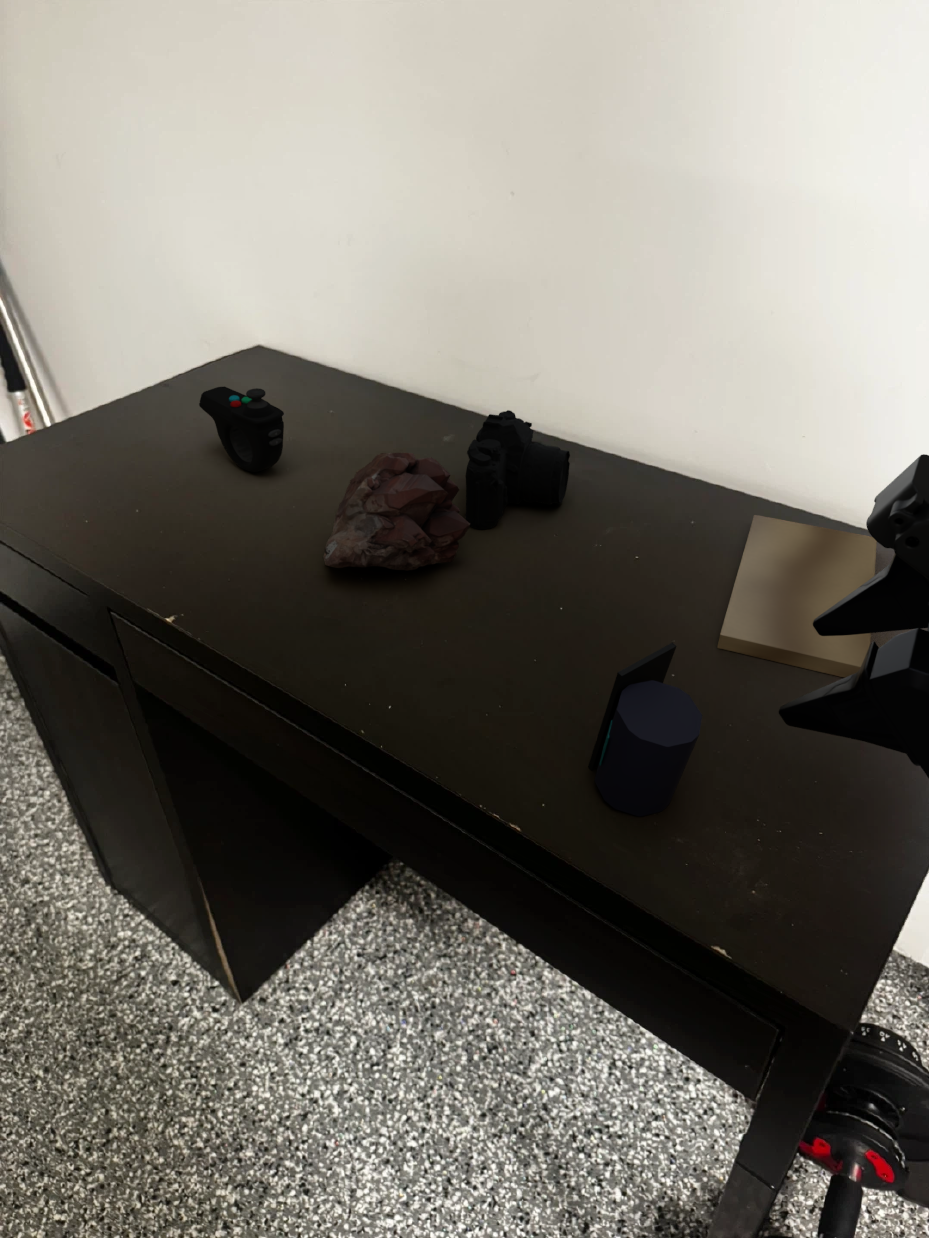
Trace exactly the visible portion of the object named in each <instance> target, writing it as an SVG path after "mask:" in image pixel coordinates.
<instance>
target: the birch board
mask: <svg viewBox="0 0 929 1238" xmlns="http://www.w3.org/2000/svg"><path fill="white" fill-rule="evenodd" d="M752 517H753V518H752V521H751V524H750V528H749V532H748V535H747V538H746V542H745V546H744V549H743V552H742V556H741V560H740V563H739V567H738V570H737V574H736V577H735V581H734V583H733V588H732V590H731V595H730V598H729V601H728V605H727V609H726V613H725V615H724V618H723V619H724V620H723V622H722V626H721V630H720V633H719V637H718V642H717V646H716V648H717V649H720V650H724V651H729V652H733V653H737V654H740V655H746V656H750V657H754V658H759V659H762V660H768V661H772V662H776V663H779V664H784V665H787V666H793V667H797V668H801V669H806V670H810V671H814V672H818V673H823V674H827V675H831V676H836V677H841V678H845V677H848V676H850V675H852V674H855V673H857V672H858V671H859V670H860V668H861V665H862V663H863V661H864V658H865V656H866V653H867V651H868V649H869V646H870V644H871V643H872V642H871V641H872V633H867V634H856V635H843V636H821V635H819V634H818V633H817V631H816V630H815V628H814V627H813V621H814V619H815V618H817V617H818V616H820V615H821V614H822V613H824V612H825V611H827V610H828V609H829V608H831V607H832V606H834V605H835V604H836V603H838V602H839V601H841V600H842V599H843V598H845V597H846V596H848V595H849V594H850V593H852V592H853V591H855V590H856V589H857V588H859V587H860V586H861V585H863V584H864V583H866V582H867V581H868V580H870V579H871V578H872V577H874V576H875V575H876V559H877V545H878V542H877V541H876V540H875V539H874V538H873V537H872V536H871V535H870V536H869V535H865V534H859V533H854V532H849V531H844V530H839V529H832V528H828V527H822V526H817V525H812V524H807V523H801V522H797V521H790V520H784V519H780V518H774V517H768V516H763V515H758V514H754V515H753V516H752Z"/></svg>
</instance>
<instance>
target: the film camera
mask: <svg viewBox="0 0 929 1238" xmlns="http://www.w3.org/2000/svg"><path fill="white" fill-rule="evenodd" d="M532 426H533V423H532V422H529V421H525V420H523V419H521V418H518V417H517V416H516V414H515V412H513V411H512V410H510V409H507V410H505V411H501V412H499V413H498V414H492V413H489V414H488V415H487V417H486V419H485V421H483V422H482V427H481V428H480V429H479V430H478V432H477V433H476V436H475V439H473V440H472V441H471V443H470V444H469V446H468V448H467V450H466V451H467V452H466V454H467V456H468V459H469V460H468V462H467V465H466V469H465V514H464V518H465V520H466V521H468V522H469V523H470V526H469V527H471V528H473V529H479V530H490V529H492V528H494V527H496V526H497V523H498V522H499V520H500V519H501V518H502V517H503V516H504V509H505V508H506V506H507V505H509V504H515V505H520V504H521V502H523V501H524V502H525V503H537V504H543V505H553V504H562V503H563V501H564V498H565V496H566V492H567V488H568V481H569V476H570V465H571V462H570V457H571V452H570V450H563V449H561V448H560V447H559V446H553V445H543V444H541V443H539V442H533V438H534V429H533V428H532Z"/></svg>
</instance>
